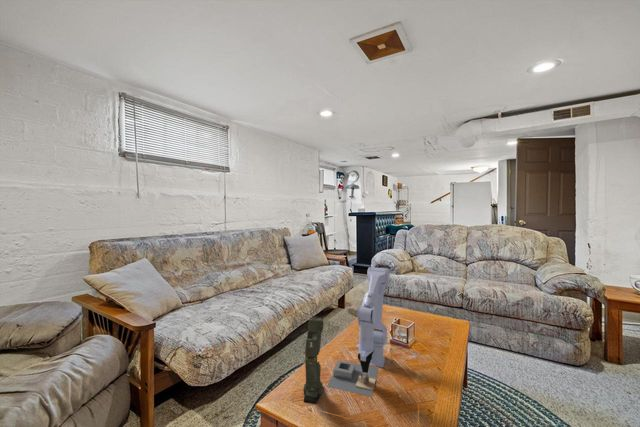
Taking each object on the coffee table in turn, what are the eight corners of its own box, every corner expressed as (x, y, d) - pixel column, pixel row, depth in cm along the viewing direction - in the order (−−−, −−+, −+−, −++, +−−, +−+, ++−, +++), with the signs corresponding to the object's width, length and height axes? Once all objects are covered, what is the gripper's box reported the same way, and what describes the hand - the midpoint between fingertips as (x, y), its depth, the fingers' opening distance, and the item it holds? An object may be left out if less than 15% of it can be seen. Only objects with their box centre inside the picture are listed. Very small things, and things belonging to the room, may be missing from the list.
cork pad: (359, 376, 117) (359, 375, 117) (375, 380, 114) (375, 378, 114) (355, 386, 110) (355, 385, 110) (373, 390, 108) (373, 389, 108)
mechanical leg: (317, 410, 97) (321, 320, 103) (297, 407, 98) (303, 318, 104) (324, 394, 110) (327, 315, 116) (306, 391, 111) (311, 314, 118)
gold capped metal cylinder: (362, 376, 115) (362, 357, 114) (370, 378, 113) (370, 359, 113) (360, 380, 111) (360, 361, 111) (368, 383, 110) (368, 363, 110)
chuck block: (338, 366, 124) (338, 359, 124) (355, 369, 122) (355, 363, 122) (333, 376, 117) (333, 369, 117) (351, 380, 114) (351, 373, 114)
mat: (339, 361, 129) (339, 360, 129) (378, 368, 123) (378, 367, 123) (327, 387, 110) (327, 386, 110) (371, 397, 104) (371, 396, 104)
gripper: (360, 327, 120) (359, 358, 120) (352, 343, 106) (352, 377, 107) (376, 330, 118) (375, 361, 118) (371, 346, 104) (370, 381, 104)
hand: (365, 369), depth 112 cm, fingers closed on gold capped metal cylinder, 3 cm apart
